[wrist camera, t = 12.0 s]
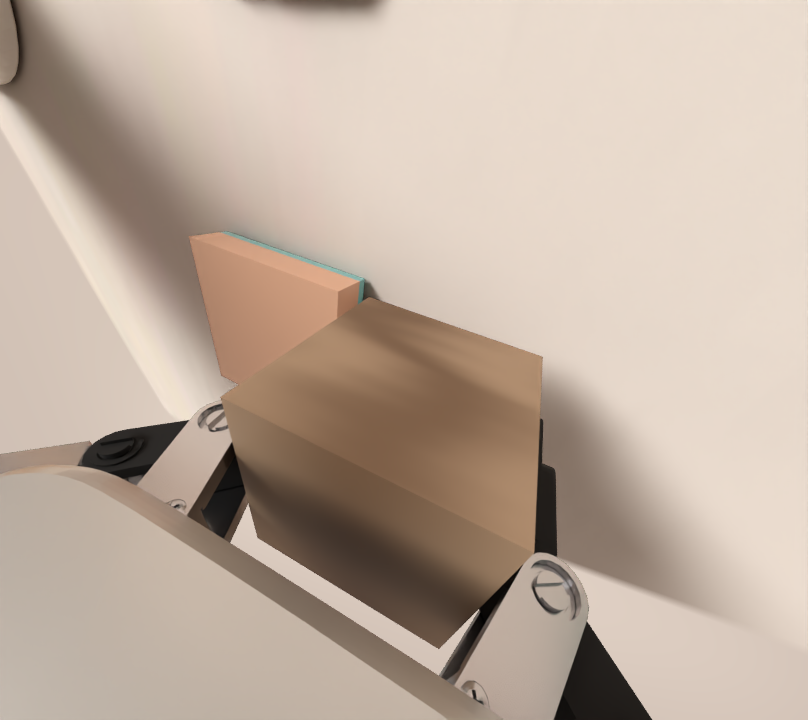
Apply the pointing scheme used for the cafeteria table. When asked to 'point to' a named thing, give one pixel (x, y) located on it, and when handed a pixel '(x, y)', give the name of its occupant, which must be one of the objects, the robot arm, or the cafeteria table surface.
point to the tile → (265, 299)
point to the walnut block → (395, 462)
